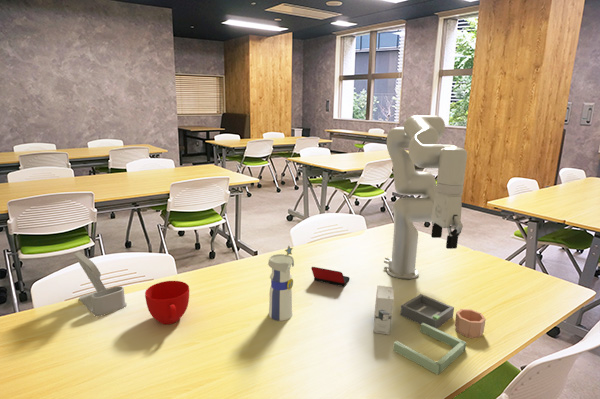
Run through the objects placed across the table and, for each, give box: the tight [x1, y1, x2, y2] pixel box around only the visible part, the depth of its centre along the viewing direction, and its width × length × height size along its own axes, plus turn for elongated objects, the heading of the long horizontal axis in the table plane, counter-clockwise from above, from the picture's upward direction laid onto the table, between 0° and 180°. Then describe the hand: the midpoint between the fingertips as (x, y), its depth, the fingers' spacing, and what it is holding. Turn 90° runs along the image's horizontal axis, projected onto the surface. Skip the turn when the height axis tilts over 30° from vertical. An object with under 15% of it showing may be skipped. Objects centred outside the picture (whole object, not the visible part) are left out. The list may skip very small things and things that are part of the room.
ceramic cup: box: [144, 280, 190, 325], centre depth 119 cm, size 13×17×10 cm
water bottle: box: [267, 244, 295, 321], centre depth 122 cm, size 8×9×25 cm
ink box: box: [373, 285, 395, 335], centre depth 118 cm, size 9×5×12 cm, turn 168°
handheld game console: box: [311, 266, 350, 288], centre depth 148 cm, size 12×11×7 cm
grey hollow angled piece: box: [73, 251, 127, 317], centre depth 128 cm, size 17×10×18 cm, turn 46°
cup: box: [454, 308, 486, 339], centre depth 117 cm, size 8×8×5 cm
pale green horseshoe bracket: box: [392, 323, 467, 376], centre depth 108 cm, size 13×15×2 cm
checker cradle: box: [400, 293, 455, 329], centre depth 125 cm, size 12×12×4 cm
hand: (443, 242), depth 120 cm, fingers open, 9 cm apart
